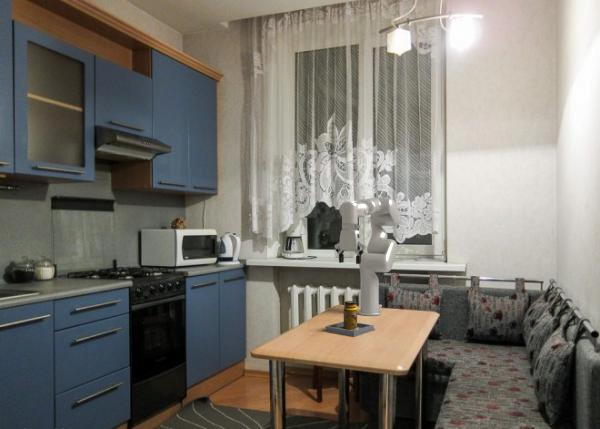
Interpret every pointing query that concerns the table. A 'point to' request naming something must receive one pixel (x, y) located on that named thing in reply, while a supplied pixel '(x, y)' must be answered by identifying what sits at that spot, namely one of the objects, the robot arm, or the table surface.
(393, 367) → the table surface
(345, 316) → the condiment
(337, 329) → the dock
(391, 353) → the table surface
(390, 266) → the robot arm
